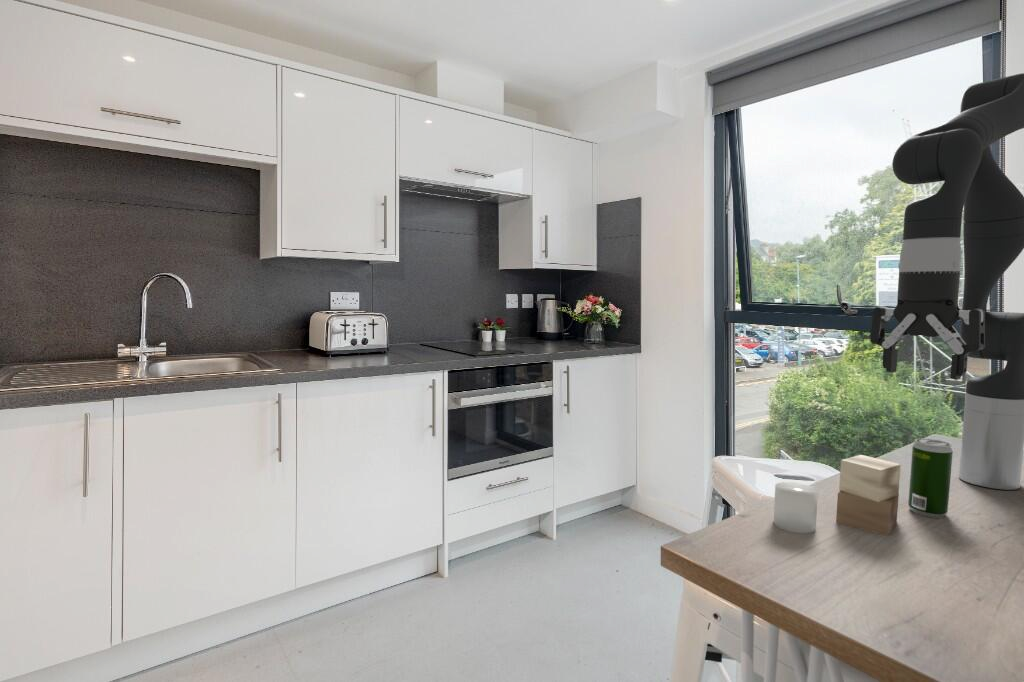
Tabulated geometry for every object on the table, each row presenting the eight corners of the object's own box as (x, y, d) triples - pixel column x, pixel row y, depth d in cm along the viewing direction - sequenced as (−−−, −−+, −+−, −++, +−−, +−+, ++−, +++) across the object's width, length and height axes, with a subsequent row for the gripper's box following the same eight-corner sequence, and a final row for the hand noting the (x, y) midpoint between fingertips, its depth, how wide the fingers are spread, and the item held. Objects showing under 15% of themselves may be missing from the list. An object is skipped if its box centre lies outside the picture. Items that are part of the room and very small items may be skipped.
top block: (859, 483, 96) (861, 454, 95) (898, 495, 90) (900, 464, 90) (839, 490, 92) (841, 459, 92) (878, 502, 87) (880, 470, 87)
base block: (847, 511, 97) (849, 482, 96) (896, 523, 92) (898, 492, 91) (835, 523, 92) (837, 492, 91) (887, 536, 87) (889, 504, 86)
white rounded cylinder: (785, 515, 94) (787, 479, 94) (823, 527, 89) (825, 490, 89) (765, 523, 91) (767, 486, 90) (803, 536, 86) (805, 498, 85)
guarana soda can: (939, 521, 92) (945, 448, 91) (902, 510, 97) (907, 440, 96) (952, 514, 95) (958, 443, 94) (916, 504, 100) (921, 436, 99)
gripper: (996, 268, 83) (987, 378, 85) (886, 270, 94) (881, 367, 96) (979, 268, 79) (970, 384, 80) (866, 270, 90) (861, 372, 92)
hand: (922, 375), depth 88 cm, fingers open, 8 cm apart
